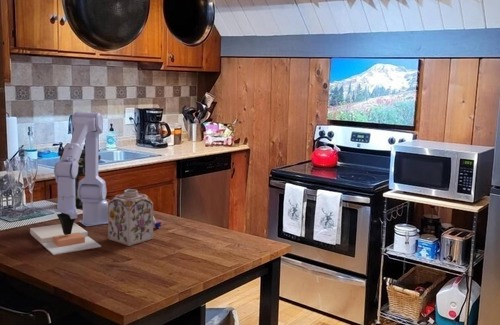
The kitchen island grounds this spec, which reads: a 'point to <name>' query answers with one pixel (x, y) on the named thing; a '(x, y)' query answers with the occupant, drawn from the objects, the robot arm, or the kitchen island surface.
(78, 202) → the power drill
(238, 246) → the kitchen island surface
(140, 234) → the floral ceramic jar
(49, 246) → the mat
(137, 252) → the kitchen island surface
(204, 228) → the kitchen island surface
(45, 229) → the white flat slab
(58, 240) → the pink flat block
